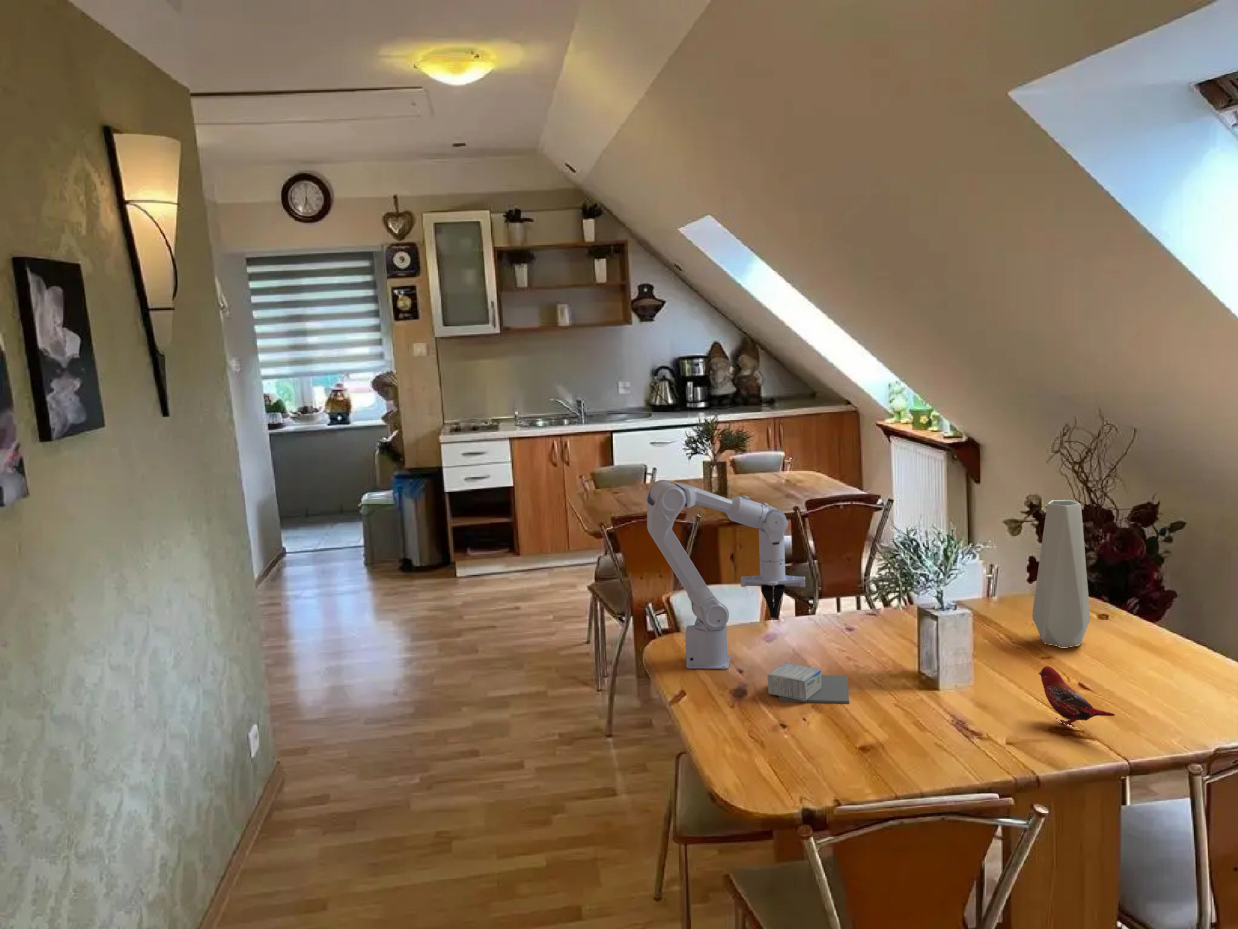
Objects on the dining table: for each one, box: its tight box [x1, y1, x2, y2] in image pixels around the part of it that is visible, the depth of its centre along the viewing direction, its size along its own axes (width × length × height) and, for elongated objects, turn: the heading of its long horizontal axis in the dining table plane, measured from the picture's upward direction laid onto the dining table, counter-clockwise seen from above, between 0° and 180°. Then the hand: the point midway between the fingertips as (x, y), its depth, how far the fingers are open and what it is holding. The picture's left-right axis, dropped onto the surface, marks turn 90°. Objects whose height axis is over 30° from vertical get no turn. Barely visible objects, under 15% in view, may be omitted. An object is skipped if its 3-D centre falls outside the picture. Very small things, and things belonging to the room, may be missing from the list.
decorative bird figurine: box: [1038, 665, 1116, 728], centre depth 176 cm, size 3×18×10 cm, turn 20°
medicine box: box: [767, 662, 822, 701], centre depth 200 cm, size 8×4×9 cm
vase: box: [1031, 499, 1091, 647], centre depth 219 cm, size 12×12×33 cm
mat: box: [778, 674, 850, 704], centre depth 202 cm, size 14×14×1 cm
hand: (773, 616), depth 222 cm, fingers closed
